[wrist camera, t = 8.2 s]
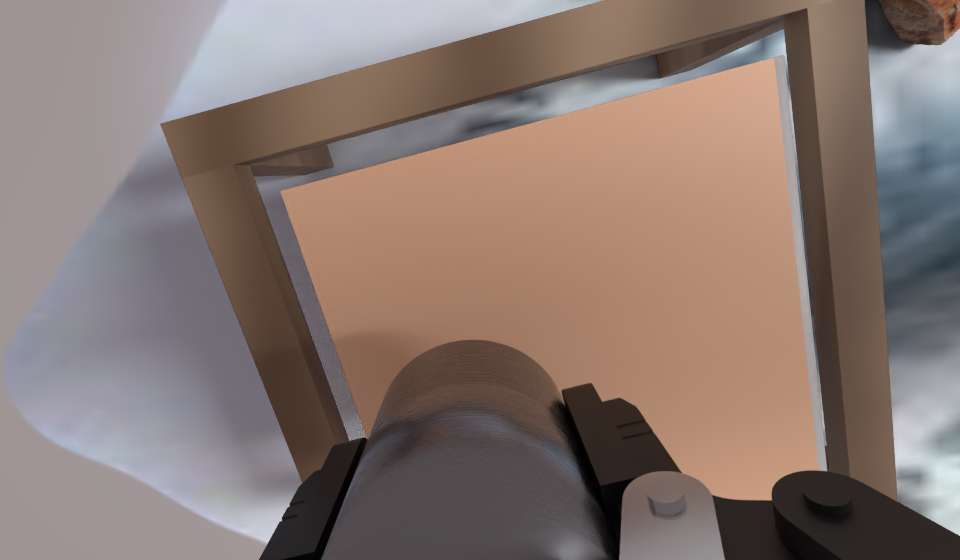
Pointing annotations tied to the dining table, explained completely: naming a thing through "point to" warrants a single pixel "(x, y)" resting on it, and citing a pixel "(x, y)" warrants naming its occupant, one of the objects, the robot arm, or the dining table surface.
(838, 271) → the trapdoor frame
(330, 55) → the dining table surface
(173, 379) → the dining table surface
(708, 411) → the trapdoor
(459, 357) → the cylinder
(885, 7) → the reddish brown rock
